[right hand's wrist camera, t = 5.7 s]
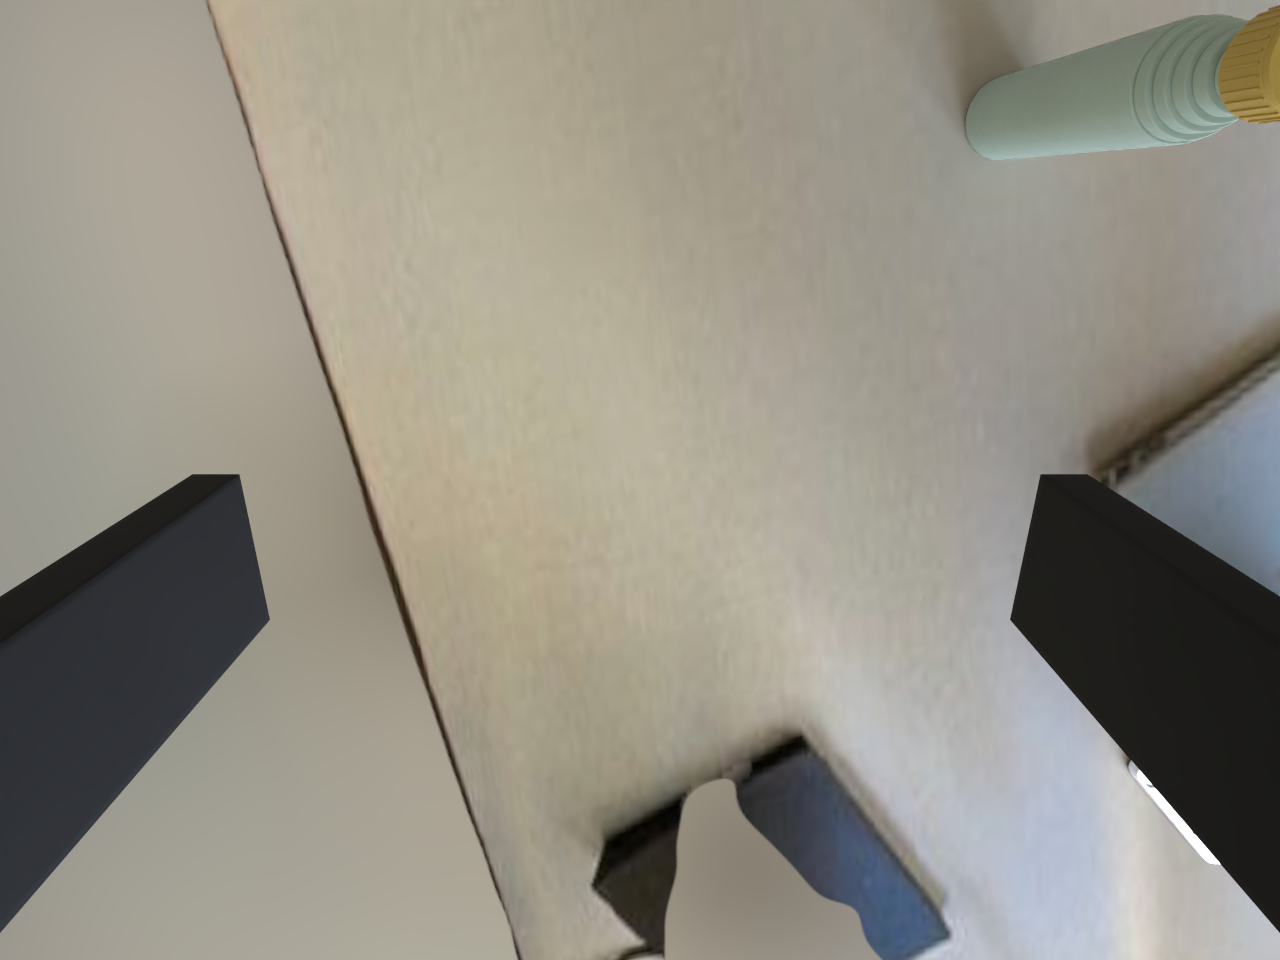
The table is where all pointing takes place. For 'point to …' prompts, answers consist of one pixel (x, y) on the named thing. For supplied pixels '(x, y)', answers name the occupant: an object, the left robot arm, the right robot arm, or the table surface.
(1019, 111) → the bottle
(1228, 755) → the right robot arm
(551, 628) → the table surface
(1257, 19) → the cap
